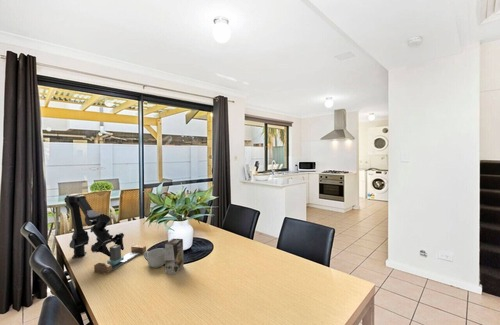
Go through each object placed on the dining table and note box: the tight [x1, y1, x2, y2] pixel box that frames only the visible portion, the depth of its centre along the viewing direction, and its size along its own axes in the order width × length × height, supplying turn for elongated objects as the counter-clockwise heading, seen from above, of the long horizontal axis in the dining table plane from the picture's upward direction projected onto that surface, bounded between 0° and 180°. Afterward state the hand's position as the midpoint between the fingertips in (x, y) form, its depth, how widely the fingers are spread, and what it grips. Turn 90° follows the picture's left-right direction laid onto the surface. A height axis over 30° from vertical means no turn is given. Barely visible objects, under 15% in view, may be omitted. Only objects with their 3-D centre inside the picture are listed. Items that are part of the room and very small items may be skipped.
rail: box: [93, 244, 147, 275], centre depth 144 cm, size 30×9×4 cm, turn 164°
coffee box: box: [164, 238, 184, 275], centre depth 132 cm, size 9×6×16 cm
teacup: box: [143, 247, 165, 269], centre depth 139 cm, size 14×11×8 cm
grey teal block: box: [106, 244, 124, 265], centre depth 139 cm, size 7×5×9 cm
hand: (117, 253), depth 139 cm, fingers open, 9 cm apart
